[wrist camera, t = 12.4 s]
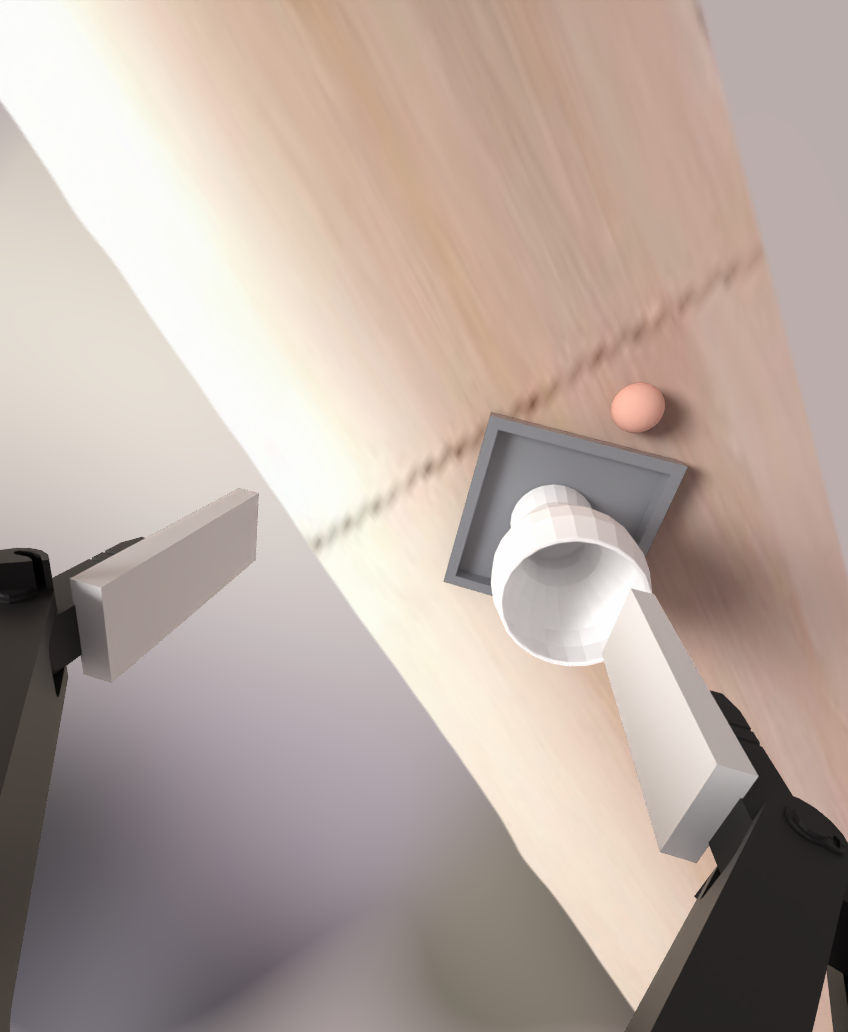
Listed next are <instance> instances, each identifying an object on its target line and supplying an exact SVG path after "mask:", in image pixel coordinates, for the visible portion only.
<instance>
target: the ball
mask: <svg viewBox="0 0 848 1032" xmlns="http://www.w3.org/2000/svg"><path fill="white" fill-rule="evenodd" d="M664 410H665V400H664V397H663V395H662V393H661V392H660V391H659V390H658V389H657V388H656V387H654V386H652V385H650V384H647V383H635V384H631V385H629V386H627V387H625V388H623V389H622V390H621V391H620V392H619V393H618V394H617V395H616V397H615V398H614V400H613V403H612V407H611V414H612V418H613V420H614V422H615V423H616V425H617V426H618V427H619V428H621V429H622V430H625V431H627V432H631V433H639V432H644V431H647V430H649V429H651V428H652V427H654V426H655V425H656V424H657V423H658V422H659V421H660V419H661V418H662V416H663V414H664Z"/></svg>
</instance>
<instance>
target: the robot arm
mask: <svg viewBox="0 0 848 1032" xmlns="http://www.w3.org/2000/svg"><path fill="white" fill-rule="evenodd" d="M258 496H259V494H258V493H256V492H252V491H248V490H244V489H240V488H238V489H236V490H235V491H232V492H231V493H229V494H227V495H225V496H223V497H221V498H219V499H218V500H216V501H214V502H212V503H210V504H208V505H206V506H205V507H203V508H201V509H199V510H197V511H195V512H193V513H191V514H190V515H188V516H186V517H184V518H182V519H180V520H178V521H177V522H175V523H173V524H171V525H169V526H167V527H166V528H163V529H162V530H160V531H158V532H156V533H154V534H152V535H150V536H148V537H147V538H144V537H140V538H136V539H133V540H129V541H125V542H121V543H119V544H118V545H116V546H114V547H112V548H110V549H108V550H106V551H105V553H103V552H102V553H100V554H98V555H96V556H94V557H92V560H90V559H88V560H86V561H84V562H83V563H81V564H79V565H77V566H75V567H73V568H71V569H69V570H67V571H65V572H63V573H61V574H59V575H57V576H55V577H54V578H52V575H51V569H50V563H49V557H48V554H46V553H45V552H43V551H41V550H37V549H32V548H12V549H5V550H0V1032H10V1014H11V1006H12V999H13V994H14V988H15V982H16V976H17V971H18V965H19V959H20V953H21V947H22V941H23V936H24V930H25V923H26V918H27V912H28V907H29V901H30V895H31V889H32V884H33V878H34V872H35V866H36V860H37V854H38V849H39V843H40V837H41V831H42V825H43V819H44V814H45V808H46V802H47V796H48V791H49V785H50V779H51V773H52V767H53V762H54V756H55V750H56V744H57V738H58V733H59V727H60V721H61V715H62V709H63V704H64V698H65V692H66V686H67V680H68V673H67V667H66V665H68V664H69V663H71V662H72V661H73V660H75V659H76V658H77V657H78V656H80V655H81V660H82V667H83V674H85V675H88V676H92V677H94V678H98V679H101V680H104V681H107V682H111V683H112V682H113V681H114V680H116V679H117V678H118V677H119V676H120V675H121V674H123V673H124V672H125V671H126V670H127V669H128V668H130V667H131V666H132V665H133V664H134V663H135V662H137V661H138V660H139V659H140V658H141V657H142V656H144V655H145V654H146V653H147V652H148V651H149V650H151V649H152V648H153V647H154V646H155V645H157V644H158V643H159V642H160V641H161V640H162V639H164V638H165V637H166V636H167V635H168V634H169V633H171V632H172V631H173V630H174V629H175V628H176V627H178V626H179V625H180V624H181V623H182V622H183V621H185V620H186V619H187V618H188V617H189V616H190V615H192V614H193V613H194V612H195V611H196V610H198V609H199V608H200V607H201V606H202V605H203V604H205V603H206V602H207V601H208V600H209V599H210V598H212V597H213V596H214V595H215V594H216V593H217V592H218V591H220V590H221V589H222V588H223V587H225V586H226V585H227V584H228V583H229V582H230V581H232V580H233V579H234V578H235V577H236V576H237V575H239V574H240V573H241V572H242V571H243V570H244V569H246V568H247V567H248V566H249V565H250V564H251V563H253V562H254V561H255V560H256V539H257V518H258ZM602 656H603V660H604V663H605V666H606V670H607V673H608V677H609V680H610V683H611V687H612V690H613V694H614V697H615V700H616V704H617V707H618V711H619V714H620V717H621V721H622V724H623V728H624V731H625V734H626V738H627V741H628V745H629V748H630V751H631V755H632V758H633V762H634V765H635V768H636V772H637V775H638V779H639V782H640V785H641V789H642V792H643V796H644V799H645V802H646V806H647V809H648V813H649V816H650V819H651V823H652V826H653V830H654V833H655V836H656V840H657V843H658V847H659V850H660V852H662V853H665V854H669V855H672V856H675V857H678V858H682V859H685V860H688V861H691V862H695V863H697V862H698V860H699V859H700V857H701V856H702V855H703V853H704V852H705V850H706V849H707V848H708V846H710V848H711V851H712V853H713V856H714V858H715V861H716V863H717V867H716V868H715V870H714V871H713V872H712V873H711V875H710V876H709V877H708V879H707V880H706V881H705V883H704V884H703V885H702V887H701V888H700V889H699V891H698V892H697V893H696V895H695V896H694V897H695V898H697V900H696V902H695V904H694V906H693V908H692V909H691V911H690V913H689V915H688V917H687V918H686V920H685V922H684V924H683V926H682V928H681V929H680V931H679V933H678V935H677V937H676V939H675V940H674V942H673V944H672V946H671V948H670V950H669V951H668V953H667V955H666V957H665V959H664V960H663V962H662V964H661V966H660V968H659V970H658V971H657V973H656V975H655V977H654V979H653V981H652V982H651V984H650V986H649V988H648V990H647V992H646V993H645V995H644V997H643V999H642V1001H641V1002H640V1004H639V1006H638V1008H637V1010H636V1012H635V1013H634V1015H633V1017H632V1019H631V1021H630V1023H629V1024H628V1026H627V1028H626V1030H625V1032H812V1030H813V1026H814V1022H815V1017H816V1013H817V1009H818V1005H819V1000H820V996H821V992H822V987H823V983H824V979H825V975H826V970H827V979H828V988H829V997H830V1005H831V1014H832V1023H833V1031H834V1032H848V843H847V841H846V839H845V837H844V836H843V834H842V833H841V832H840V831H839V830H838V829H837V827H836V826H835V825H834V824H833V823H832V822H831V821H830V820H829V819H828V818H827V817H825V816H824V815H823V814H822V813H821V812H819V811H818V810H817V809H816V808H814V807H813V806H811V805H809V804H808V803H806V802H804V801H803V800H801V799H799V798H796V797H794V796H793V795H792V794H791V792H790V791H789V789H788V787H787V786H786V784H785V782H784V781H783V779H782V778H781V776H780V774H779V773H778V771H777V770H776V768H775V766H774V765H773V763H772V762H771V760H770V758H769V757H768V755H767V754H766V752H765V750H764V749H763V747H761V746H760V742H759V741H758V739H757V738H756V736H755V734H754V733H753V732H751V731H750V729H751V728H750V726H749V725H748V723H747V722H746V720H745V718H744V717H743V715H742V714H741V712H740V711H739V710H738V709H737V708H736V707H735V706H734V705H733V704H732V703H731V702H730V701H729V700H728V699H727V698H726V697H725V696H724V695H723V694H721V693H718V692H714V691H710V690H709V689H708V687H707V685H706V684H705V682H704V680H703V678H702V677H701V675H700V673H699V671H698V670H697V668H696V666H695V664H694V663H693V661H692V659H691V657H690V656H689V654H688V652H687V650H686V649H685V647H684V645H683V643H682V642H681V640H680V638H679V636H678V635H677V633H676V631H675V629H674V628H673V626H672V624H671V622H670V621H669V619H668V617H667V615H666V614H665V612H664V610H663V608H662V607H661V605H660V603H659V601H658V600H657V598H656V596H655V594H652V593H648V592H644V591H640V590H636V589H632V588H631V589H630V591H629V593H628V595H627V598H626V600H625V602H624V605H623V607H622V609H621V611H620V614H619V616H618V618H617V620H616V623H615V625H614V627H613V629H612V632H611V634H610V636H609V638H608V641H607V643H606V645H605V647H604V650H603V652H602Z"/></svg>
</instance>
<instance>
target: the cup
mask: <svg viewBox="0 0 848 1032" xmlns="http://www.w3.org/2000/svg"><path fill="white" fill-rule="evenodd" d="M510 525H511V529H510V530H509V531H508V532H507V534H506V535H505V536H504V537H503V538H502V540H501V542H500V544H499V546H498V548H497V550H496V552H495V554H494V561H493V568H492V577H491V587H492V594H493V601H494V603H495V606H496V608H497V611H498V613H499V615H500V618H501V620H502V622H503V624H504V626H505V629H506V631H507V633H508V634H509V635H510V636H511V637H512V639H513V640H514V641H515V642H516V643H517V644H518V646H520V647H521V648H523V649H524V650H525V651H527V652H528V653H530V654H531V655H533V656H534V657H537V658H539V659H542V660H544V661H547V662H549V663H553V664H559V665H565V666H588V665H592V664H596V663H600V662H604V660H603V656H602V652H603V650H604V647H605V645H606V643H607V641H608V638H609V636H610V634H611V632H612V629H613V627H614V625H615V623H616V620H617V618H618V616H619V614H620V611H621V609H622V607H623V605H624V602H625V600H626V598H627V595H628V593H629V591H630V589H631V588H632V589H636V590H640V591H644V592H648V593H652V587H651V578H650V570H649V568H648V565H647V562H646V559H645V556H644V554H643V552H642V551H641V549H640V548H639V546H638V545H637V544H636V542H635V541H634V539H633V538H632V537H631V535H630V534H629V533H628V532H627V530H626V529H625V528H624V527H623V526H622V525H621V524H619V523H618V522H617V521H615V520H614V519H613V518H611V517H610V516H609V515H606V514H604V513H601V512H599V511H596V510H594V509H592V508H591V505H590V503H589V502H588V501H587V500H586V498H585V497H584V496H583V495H582V494H580V493H579V492H578V491H576V490H575V489H572V488H569V487H567V486H563V485H555V484H553V485H545V486H540V487H538V488H535V489H533V490H531V491H529V492H528V493H527V494H525V495H524V496H523V497H522V498H521V499H520V500H519V501H518V502H517V504H516V505H515V508H514V510H513V512H512V515H511V522H510Z"/></svg>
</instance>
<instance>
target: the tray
mask: <svg viewBox="0 0 848 1032" xmlns="http://www.w3.org/2000/svg"><path fill="white" fill-rule="evenodd" d="M687 467H688V466H686V465H684V464H683V463H681V462H679V461H678V460H674V459H670V458H667V457H663V456H659V455H655V454H651V453H647V452H643V451H639V450H636V449H632V448H628V447H624V446H620V445H616V444H612V443H608V442H604V441H601V440H597V439H593V438H589V437H585V436H581V435H577V434H573V433H570V432H566V431H562V430H558V429H554V428H550V427H546V426H542V425H539V424H535V423H531V422H527V421H523V420H519V419H515V418H511V417H508V416H504V415H500V414H496V413H492V412H491V415H490V418H489V422H488V425H487V429H486V432H485V436H484V439H483V443H482V447H481V450H480V454H479V457H478V461H477V464H476V468H475V471H474V475H473V479H472V482H471V486H470V489H469V493H468V496H467V500H466V503H465V507H464V511H463V514H462V518H461V521H460V525H459V528H458V532H457V535H456V539H455V543H454V546H453V550H452V553H451V557H450V560H449V564H448V567H447V571H446V575H445V578H444V582H447V583H450V584H453V585H457V586H460V587H464V588H467V589H470V590H474V591H477V592H481V593H484V594H487V595H491V596H493V594H492V587H491V577H492V568H493V561H494V554H495V552H496V550H497V548H498V546H499V544H500V542H501V540H502V538H503V537H504V536H505V535H506V534H507V532H508V531H509V530H510V529H511V525H510V522H511V515H512V512H513V510H514V508H515V505H516V504H517V502H518V501H519V500H520V499H521V498H522V497H523V496H524V495H525V494H527V493H528V492H529V491H531V490H533V489H535V488H538V487H540V486H545V485H553V484H555V485H563V486H567V487H569V488H572V489H575V490H576V491H578V492H579V493H580V494H582V495H583V496H584V497H585V498H586V500H587V501H588V502H589V503H590V505H591V508H592V509H594V510H596V511H599V512H601V513H604V514H606V515H609V516H610V517H611V518H613V519H614V520H615V521H617V522H618V523H619V524H621V525H622V526H623V527H624V528H625V529H626V530H627V532H628V533H629V534H630V535H631V537H632V538H633V539H634V541H635V542H636V544H637V545H638V546H639V548H640V549H641V551H642V552H643V554H644V556H645V557H646V555H647V553H648V551H649V549H650V546H651V544H652V542H653V540H654V538H655V536H656V534H657V531H658V529H659V527H660V525H661V523H662V521H663V519H664V517H665V514H666V512H667V510H668V508H669V506H670V504H671V502H672V499H673V497H674V495H675V493H676V491H677V489H678V487H679V485H680V482H681V480H682V478H683V476H684V474H685V472H686V470H687Z"/></svg>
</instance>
